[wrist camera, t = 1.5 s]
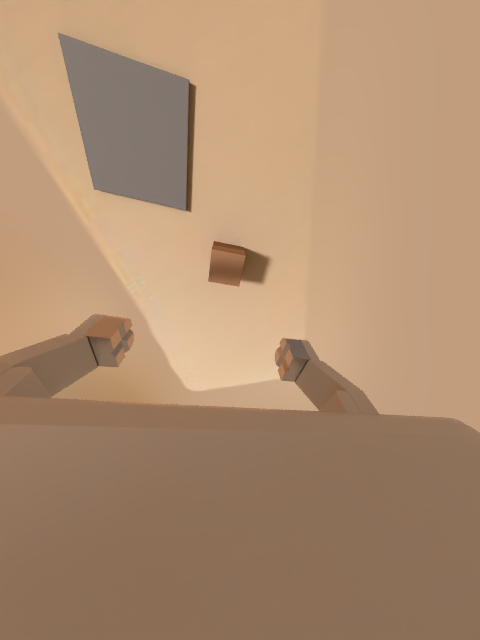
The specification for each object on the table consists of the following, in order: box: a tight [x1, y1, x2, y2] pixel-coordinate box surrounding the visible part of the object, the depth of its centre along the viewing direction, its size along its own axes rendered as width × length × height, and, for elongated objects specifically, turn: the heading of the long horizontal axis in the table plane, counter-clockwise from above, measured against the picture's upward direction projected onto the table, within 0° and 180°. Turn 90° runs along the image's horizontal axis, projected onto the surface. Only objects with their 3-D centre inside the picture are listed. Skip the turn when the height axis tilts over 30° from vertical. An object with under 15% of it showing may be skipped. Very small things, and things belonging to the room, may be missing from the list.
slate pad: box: [58, 33, 190, 210], centre depth 21 cm, size 12×12×1 cm
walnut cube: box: [208, 241, 246, 286], centre depth 28 cm, size 5×5×5 cm
